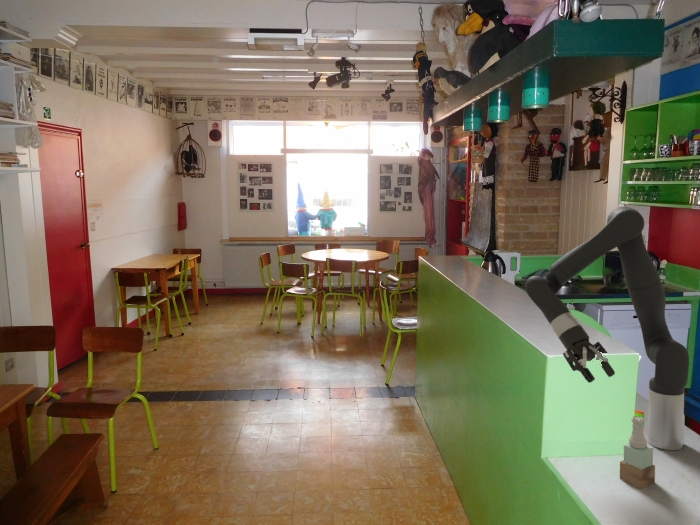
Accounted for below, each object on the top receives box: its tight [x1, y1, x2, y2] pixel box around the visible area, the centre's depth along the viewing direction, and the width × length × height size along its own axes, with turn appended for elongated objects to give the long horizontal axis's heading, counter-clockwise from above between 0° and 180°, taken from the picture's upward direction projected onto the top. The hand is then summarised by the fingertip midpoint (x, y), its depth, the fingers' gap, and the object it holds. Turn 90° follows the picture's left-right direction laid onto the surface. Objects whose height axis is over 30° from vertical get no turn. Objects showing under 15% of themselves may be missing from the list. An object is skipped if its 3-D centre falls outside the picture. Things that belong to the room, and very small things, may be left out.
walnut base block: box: [619, 459, 656, 490], centre depth 142 cm, size 6×6×5 cm
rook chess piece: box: [627, 415, 648, 449], centre depth 141 cm, size 4×4×8 cm
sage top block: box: [623, 442, 654, 470], centre depth 141 cm, size 5×5×5 cm
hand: (602, 378), depth 149 cm, fingers open, 8 cm apart
